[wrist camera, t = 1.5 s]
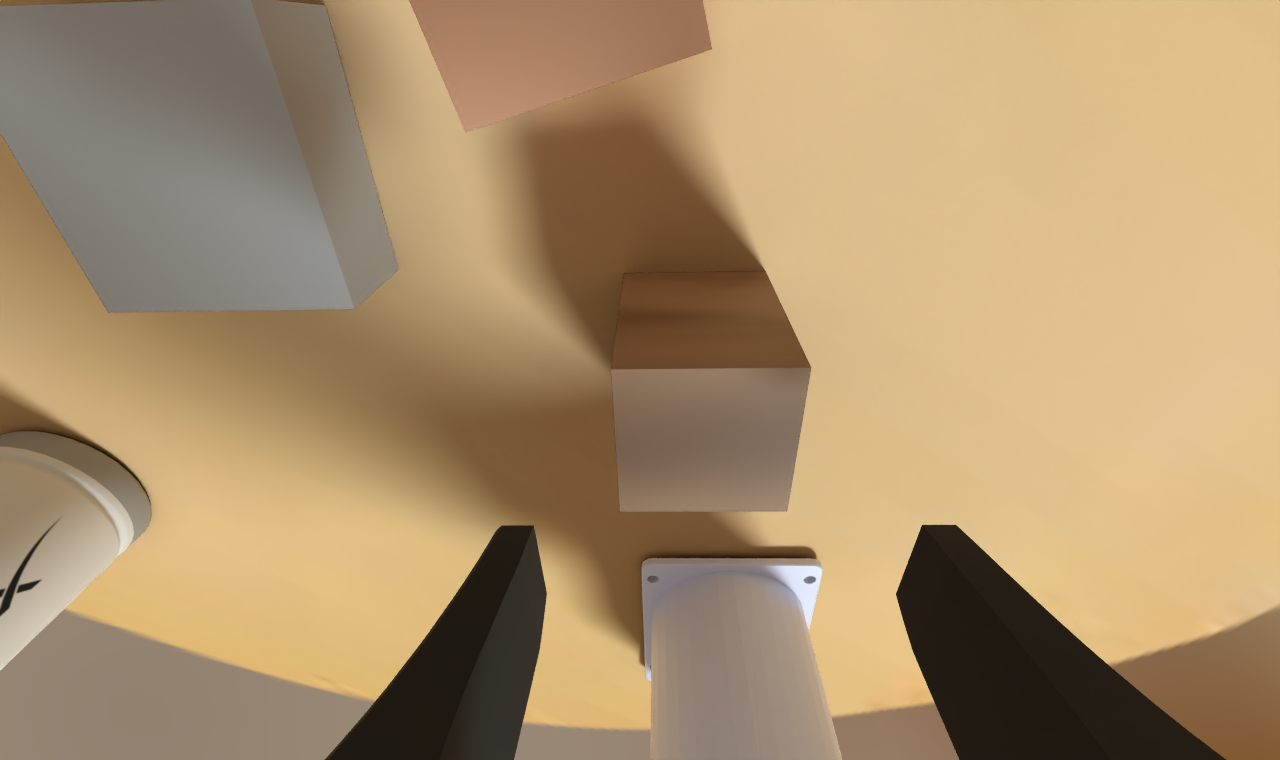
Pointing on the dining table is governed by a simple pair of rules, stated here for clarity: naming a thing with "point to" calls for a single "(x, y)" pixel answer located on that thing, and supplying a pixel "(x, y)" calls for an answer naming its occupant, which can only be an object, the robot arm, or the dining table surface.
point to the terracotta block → (550, 48)
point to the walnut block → (705, 393)
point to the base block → (196, 152)
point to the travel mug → (58, 527)
